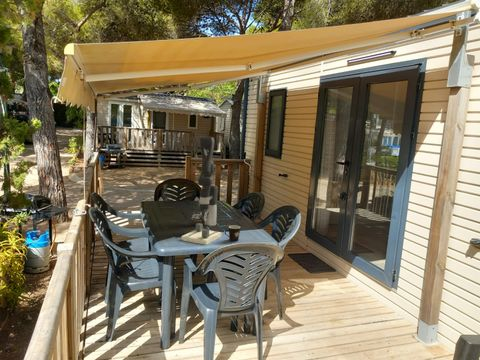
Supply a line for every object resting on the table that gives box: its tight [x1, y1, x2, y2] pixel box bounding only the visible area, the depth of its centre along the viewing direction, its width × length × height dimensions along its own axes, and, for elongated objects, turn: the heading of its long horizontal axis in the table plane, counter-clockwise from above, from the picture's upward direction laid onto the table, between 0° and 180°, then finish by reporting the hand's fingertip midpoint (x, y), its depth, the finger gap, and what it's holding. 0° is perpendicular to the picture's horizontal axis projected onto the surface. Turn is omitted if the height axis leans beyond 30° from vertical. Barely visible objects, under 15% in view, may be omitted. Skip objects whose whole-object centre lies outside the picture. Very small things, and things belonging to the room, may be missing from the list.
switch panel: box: [181, 229, 222, 245], centre depth 278 cm, size 24×20×3 cm
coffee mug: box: [224, 225, 241, 243], centre depth 276 cm, size 12×9×10 cm
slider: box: [202, 228, 210, 238], centre depth 270 cm, size 4×4×5 cm
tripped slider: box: [195, 222, 204, 231], centre depth 286 cm, size 4×4×5 cm
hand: (203, 224), depth 292 cm, fingers closed
